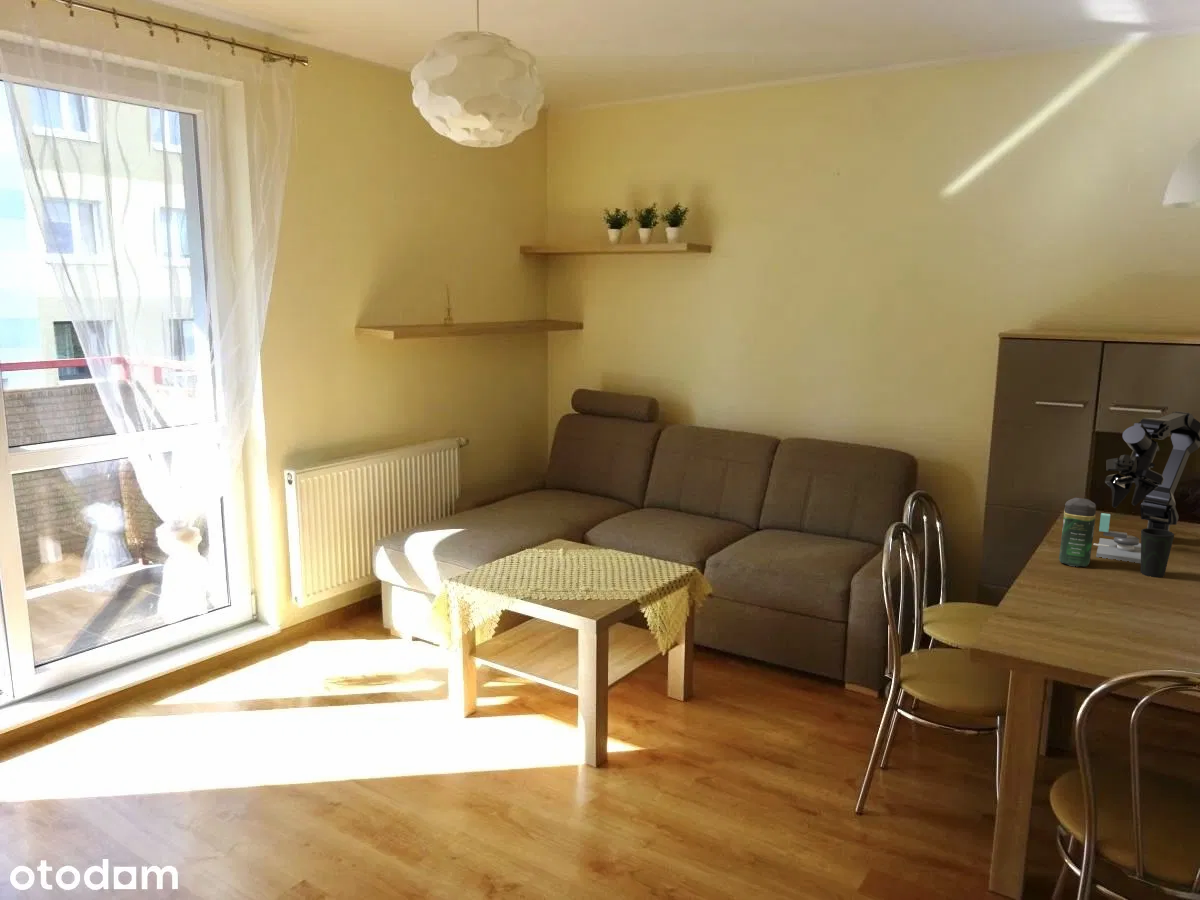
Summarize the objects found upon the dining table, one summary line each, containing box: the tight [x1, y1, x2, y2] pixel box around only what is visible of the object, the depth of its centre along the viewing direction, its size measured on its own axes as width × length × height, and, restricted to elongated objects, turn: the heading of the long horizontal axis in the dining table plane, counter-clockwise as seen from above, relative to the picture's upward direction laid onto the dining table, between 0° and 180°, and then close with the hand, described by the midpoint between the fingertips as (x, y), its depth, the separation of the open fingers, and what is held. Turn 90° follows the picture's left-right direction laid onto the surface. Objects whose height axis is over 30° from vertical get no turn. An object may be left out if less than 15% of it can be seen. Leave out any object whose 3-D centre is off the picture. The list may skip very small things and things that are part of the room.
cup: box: [1140, 527, 1175, 578], centre depth 240 cm, size 8×8×12 cm
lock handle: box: [1098, 512, 1140, 545], centre depth 260 cm, size 6×10×8 cm, turn 58°
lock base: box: [1092, 537, 1141, 564], centre depth 260 cm, size 18×15×3 cm
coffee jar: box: [1058, 497, 1097, 567], centre depth 249 cm, size 10×8×19 cm
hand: (1123, 505), depth 256 cm, fingers open, 9 cm apart
